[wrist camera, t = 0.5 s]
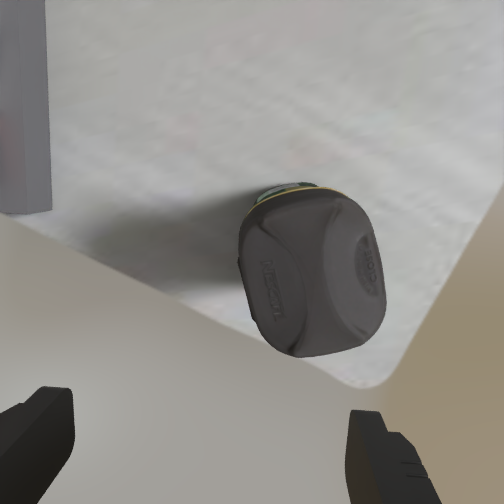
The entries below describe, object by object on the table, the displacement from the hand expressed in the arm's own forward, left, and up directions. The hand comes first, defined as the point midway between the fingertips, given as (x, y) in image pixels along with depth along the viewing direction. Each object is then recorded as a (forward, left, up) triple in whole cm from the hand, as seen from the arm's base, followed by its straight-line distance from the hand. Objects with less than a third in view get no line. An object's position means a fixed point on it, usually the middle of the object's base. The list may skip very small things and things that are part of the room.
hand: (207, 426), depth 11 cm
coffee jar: (-2, +4, -29) cm, 29 cm away
